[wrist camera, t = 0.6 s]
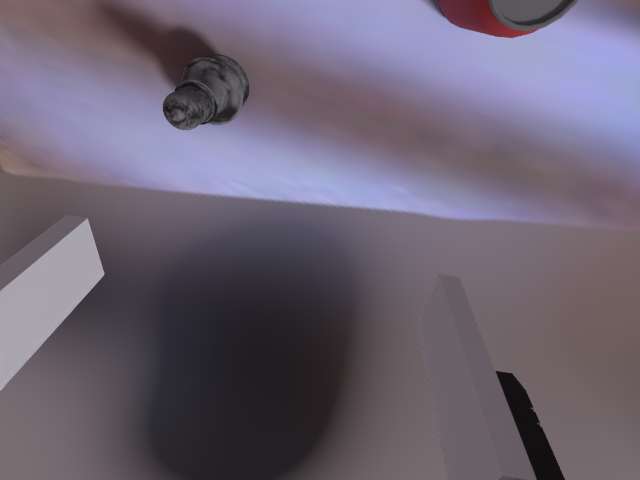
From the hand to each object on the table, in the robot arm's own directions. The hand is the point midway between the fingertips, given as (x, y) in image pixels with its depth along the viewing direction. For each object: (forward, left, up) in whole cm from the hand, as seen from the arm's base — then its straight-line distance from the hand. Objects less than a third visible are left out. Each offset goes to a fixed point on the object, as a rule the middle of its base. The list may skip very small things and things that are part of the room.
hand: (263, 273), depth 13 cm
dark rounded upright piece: (0, -10, -27) cm, 28 cm away
